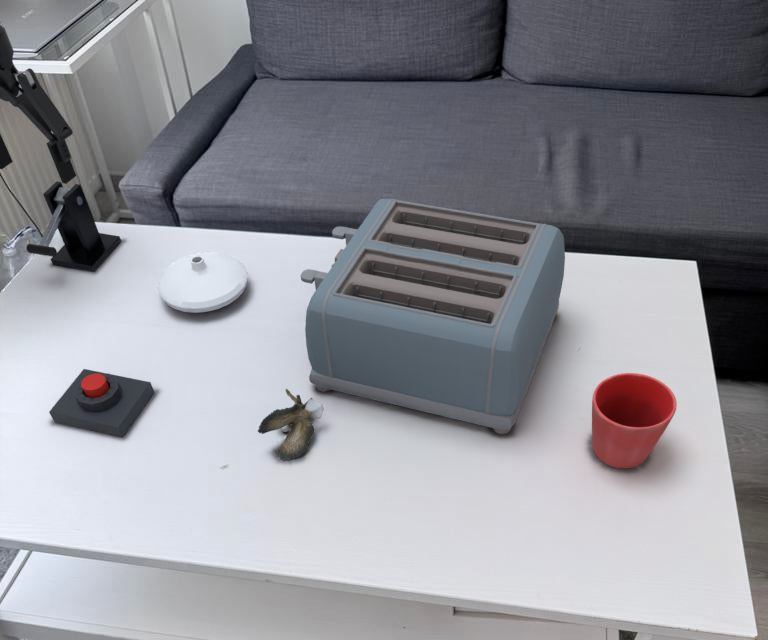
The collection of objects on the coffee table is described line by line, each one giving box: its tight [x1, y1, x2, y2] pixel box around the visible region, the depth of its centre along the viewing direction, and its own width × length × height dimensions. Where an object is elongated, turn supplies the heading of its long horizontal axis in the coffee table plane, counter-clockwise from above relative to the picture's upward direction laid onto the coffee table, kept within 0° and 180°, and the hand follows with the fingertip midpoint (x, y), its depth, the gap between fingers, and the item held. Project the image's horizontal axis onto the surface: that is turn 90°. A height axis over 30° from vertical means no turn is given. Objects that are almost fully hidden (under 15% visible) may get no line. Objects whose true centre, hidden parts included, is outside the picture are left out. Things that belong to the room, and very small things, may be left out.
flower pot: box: [591, 372, 677, 469], centre depth 102 cm, size 11×11×10 cm
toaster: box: [299, 197, 566, 435], centre depth 114 cm, size 31×36×17 cm
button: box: [81, 374, 109, 398], centre depth 112 cm, size 4×4×2 cm
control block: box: [48, 368, 155, 438], centre depth 114 cm, size 12×10×4 cm
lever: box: [26, 186, 71, 258], centre depth 132 cm, size 13×5×2 cm, turn 162°
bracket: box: [42, 181, 122, 273], centre depth 137 cm, size 10×9×13 cm
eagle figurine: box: [257, 388, 324, 461], centre depth 108 cm, size 8×7×9 cm
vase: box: [156, 251, 248, 314], centre depth 130 cm, size 16×16×7 cm
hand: (37, 172), depth 125 cm, fingers open, 13 cm apart
